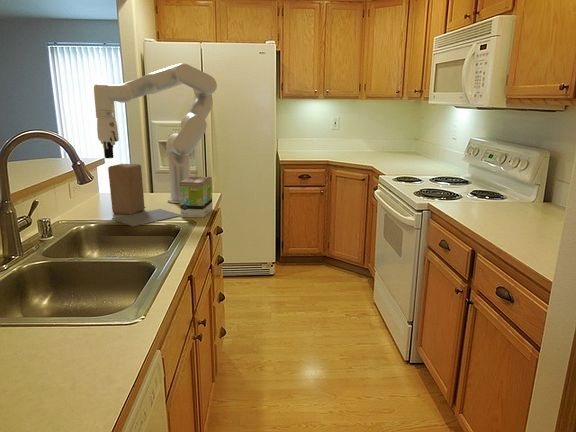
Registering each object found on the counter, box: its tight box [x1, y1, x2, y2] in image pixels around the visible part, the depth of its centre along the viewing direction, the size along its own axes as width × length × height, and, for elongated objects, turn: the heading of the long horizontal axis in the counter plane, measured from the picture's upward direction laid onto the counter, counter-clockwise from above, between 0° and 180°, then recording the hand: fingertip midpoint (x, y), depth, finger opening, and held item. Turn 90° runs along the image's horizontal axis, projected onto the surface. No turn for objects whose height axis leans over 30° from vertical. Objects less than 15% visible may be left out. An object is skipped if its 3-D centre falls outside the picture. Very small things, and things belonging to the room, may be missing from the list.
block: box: [107, 163, 145, 215], centre depth 184 cm, size 10×10×20 cm
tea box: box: [179, 176, 213, 218], centre depth 182 cm, size 15×10×15 cm
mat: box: [111, 208, 181, 227], centre depth 177 cm, size 22×16×1 cm
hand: (109, 158), depth 188 cm, fingers closed
